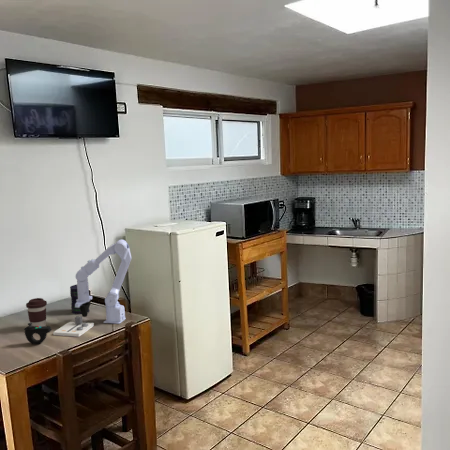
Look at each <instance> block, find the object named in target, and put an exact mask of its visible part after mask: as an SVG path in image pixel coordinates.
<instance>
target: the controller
mask: <svg viewBox="0 0 450 450" xmlns="http://www.w3.org/2000/svg"><path fill="white" fill-rule="evenodd" d="M27 325H28V326H26V327H24V335H25V338H26V340H27V341H28V342H29V343H30V344H31V345H32V344H34V345H38V344H41V343H43V342H44V341H45V340H46V338H47V336H48V334H49V333H50V332H51V331H52V330H53V329H52V327H51V326H49V325H46V326H32V323H30V322H28V323H27ZM34 334H36V335H38V336H39V339H35V338H34Z"/></svg>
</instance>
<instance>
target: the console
mask: <svg viewBox="0 0 450 450" xmlns="http://www.w3.org/2000/svg"><path fill="white" fill-rule="evenodd" d="M94 326H95V323H94V322H83V323H82V324H75V321H68V322H67V323H65V324H63V325H62V326H60V328H57V329H56V330H54V331H53V332H52V333H53V336H61V337H63V336H64V337H75V338H76V337H79V338H80V337H81V336H82V335H83V334H85V333H86V332H87V331H89V330H90V329H91V328H93V327H94Z"/></svg>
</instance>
